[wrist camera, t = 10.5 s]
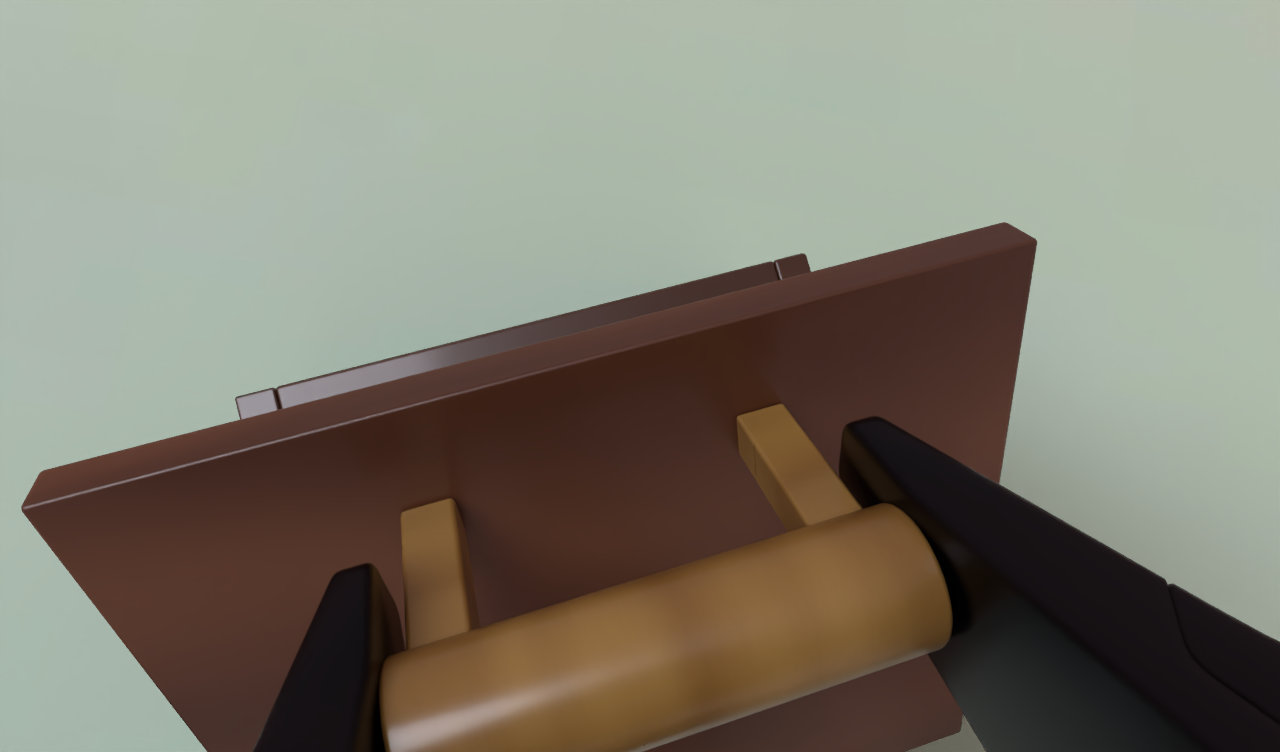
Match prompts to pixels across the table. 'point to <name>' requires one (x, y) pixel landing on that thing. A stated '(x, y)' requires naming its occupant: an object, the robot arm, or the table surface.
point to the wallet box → (517, 336)
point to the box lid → (585, 524)
